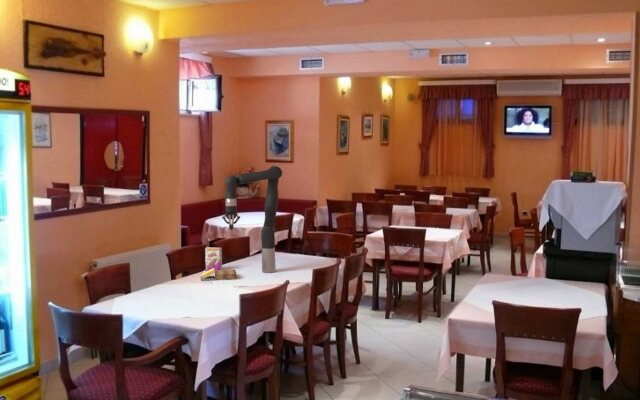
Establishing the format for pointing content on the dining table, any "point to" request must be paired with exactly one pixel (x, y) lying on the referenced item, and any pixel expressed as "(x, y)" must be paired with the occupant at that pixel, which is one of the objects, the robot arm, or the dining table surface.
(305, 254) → the dining table surface
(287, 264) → the dining table surface
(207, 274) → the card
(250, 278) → the dining table surface
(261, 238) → the robot arm
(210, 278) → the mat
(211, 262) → the candy bar box
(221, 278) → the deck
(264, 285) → the dining table surface
